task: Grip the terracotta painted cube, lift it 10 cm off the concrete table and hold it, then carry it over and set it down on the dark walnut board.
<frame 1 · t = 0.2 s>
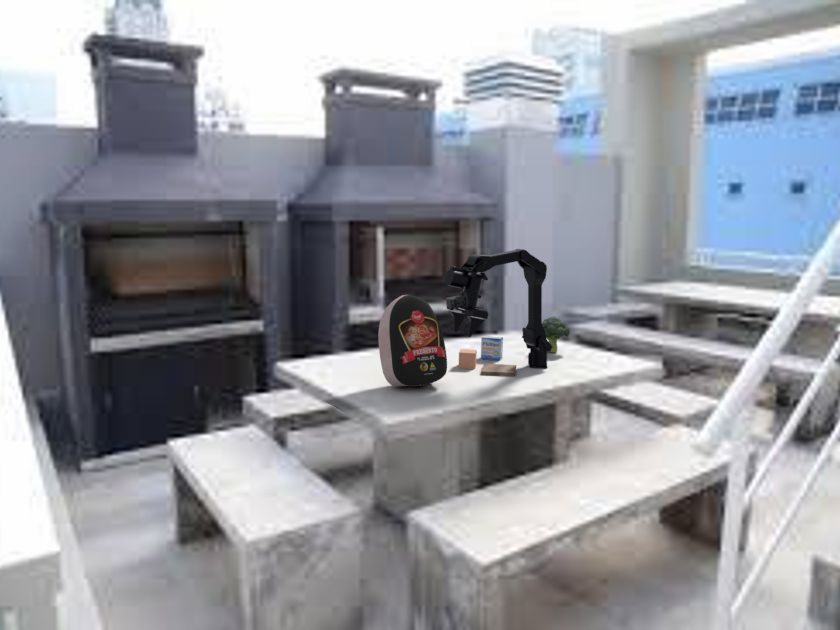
hand: (462, 334, 238), 15 cm above the table, tool pointing down, fingers open, 9 cm apart
terracotta cube: (467, 366, 255), on the table
walnut board: (499, 371, 248), on the table
medicine box: (491, 359, 269), on the table
packaged food: (411, 385, 230), on the table
vegetable: (552, 352, 280), on the table
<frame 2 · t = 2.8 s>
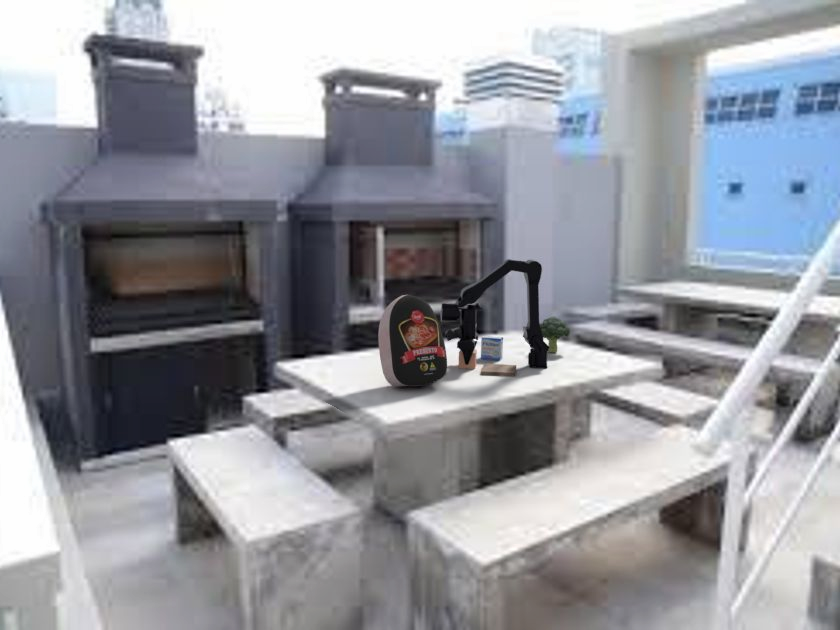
hand: (467, 362, 255), 2 cm above the table, tool pointing down, fingers closed on terracotta cube, 6 cm apart
terracotta cube: (467, 366, 255), on the table, touching gripper
everything else where it was.
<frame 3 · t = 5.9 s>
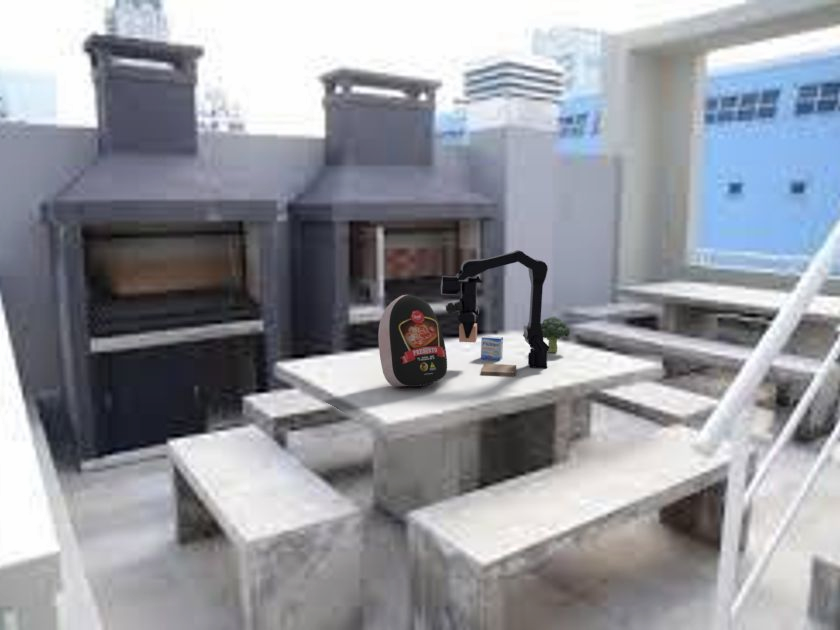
hand: (468, 336, 253), 11 cm above the table, tool pointing down, fingers closed on terracotta cube, 6 cm apart
terracotta cube: (468, 340, 254), point 10 cm above the table, touching gripper
everything else where it was.
when the fingers open (4 cm above the table, at t = 9.2 s): terracotta cube drops 2 cm, resting on walnut board.
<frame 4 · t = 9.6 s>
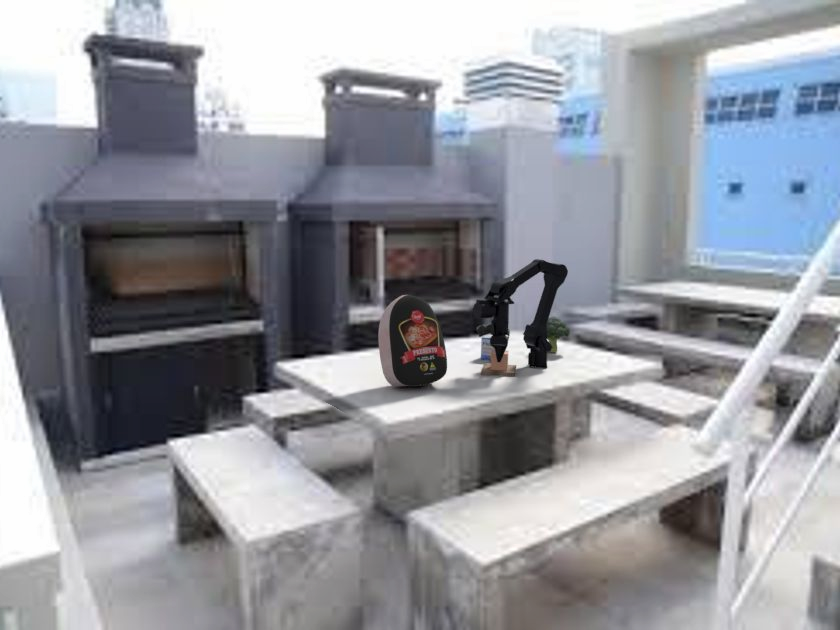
hand: (499, 359, 248), 4 cm above the table, tool pointing down, fingers open, 9 cm apart
terracotta cube: (499, 368, 248), point 1 cm above the table, touching walnut board
everything else where it was.
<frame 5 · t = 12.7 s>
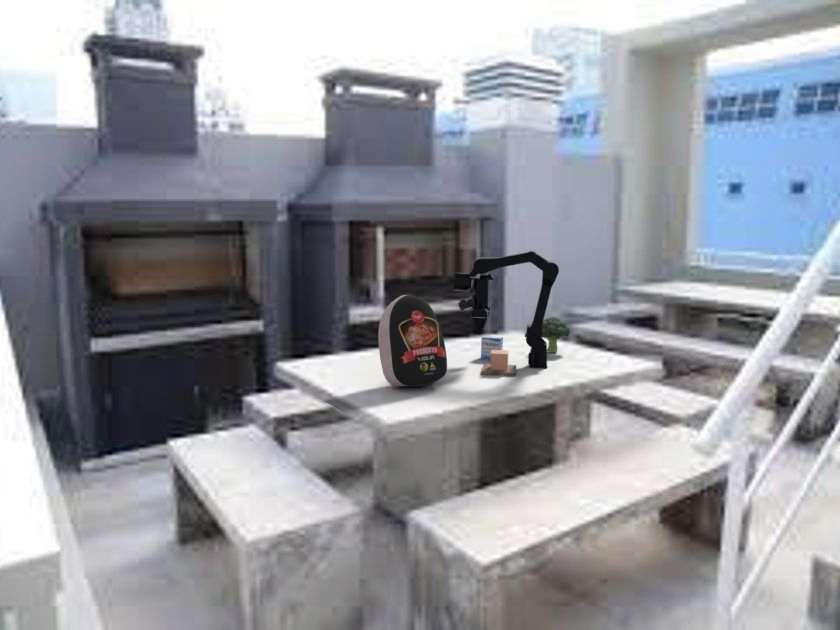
hand: (480, 332, 258), 12 cm above the table, tool pointing down, fingers open, 9 cm apart
nothing on the table moved.
at the end: terracotta cube inside the target area on the walnut board (0.0 cm from its centre), point 1.2 cm above the walnut board's base; terracotta cube tilted 0°; the gripper is holding nothing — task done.
